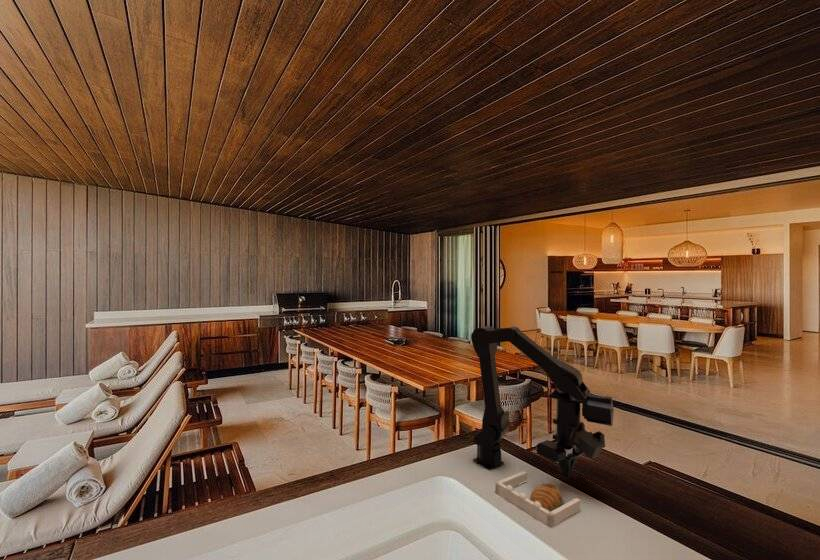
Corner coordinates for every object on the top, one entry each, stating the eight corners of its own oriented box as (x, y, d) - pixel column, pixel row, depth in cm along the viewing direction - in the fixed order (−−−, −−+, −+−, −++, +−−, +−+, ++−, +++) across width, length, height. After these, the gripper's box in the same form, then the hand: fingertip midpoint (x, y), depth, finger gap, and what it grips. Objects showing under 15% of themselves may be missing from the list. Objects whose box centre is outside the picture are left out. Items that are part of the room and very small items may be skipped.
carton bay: (494, 492, 94) (494, 479, 94) (524, 480, 101) (524, 467, 101) (550, 528, 81) (550, 512, 81) (580, 510, 88) (580, 496, 88)
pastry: (551, 521, 84) (551, 504, 84) (522, 509, 88) (522, 493, 88) (565, 503, 91) (565, 487, 91) (537, 493, 95) (537, 477, 95)
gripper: (576, 435, 86) (575, 503, 86) (618, 420, 97) (617, 481, 97) (535, 420, 96) (534, 482, 95) (577, 407, 106) (576, 463, 106)
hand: (567, 477), depth 98 cm, fingers closed
